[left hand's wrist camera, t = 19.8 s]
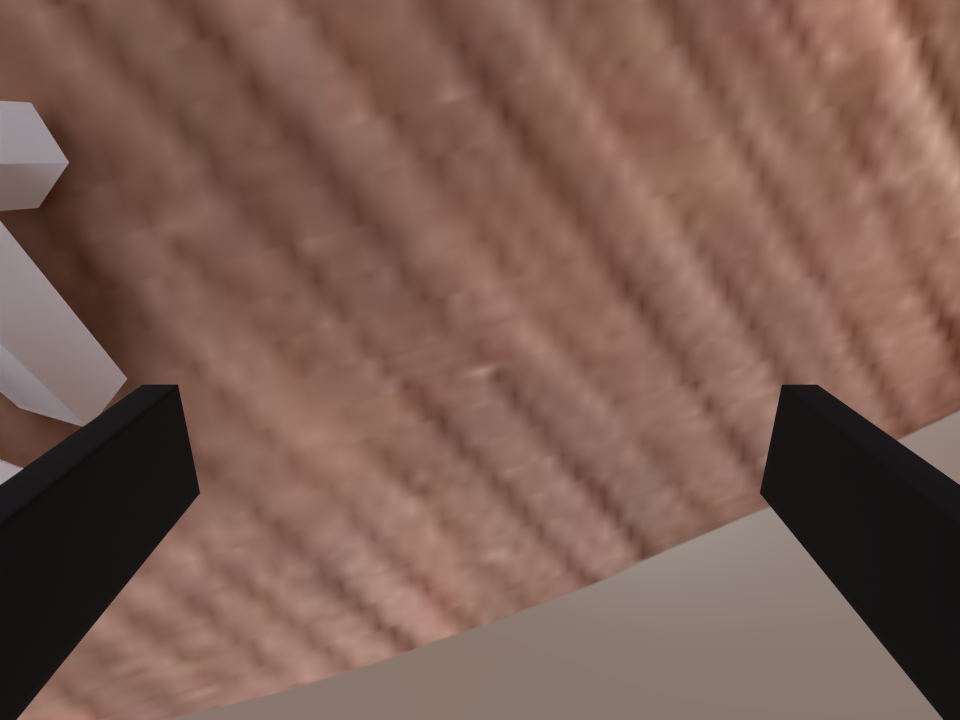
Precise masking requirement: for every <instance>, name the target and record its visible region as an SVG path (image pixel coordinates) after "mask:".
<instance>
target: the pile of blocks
mask: <svg viewBox="0 0 960 720" xmlns="http://www.w3.org/2000/svg"><path fill="white" fill-rule="evenodd" d="M68 163H69V162H68V160H67V159H66V157H65V155H64V154H63V152H62V151H61V149H60V147H59V146H58V144H57V143H56V141H55V140H54V138H53V136H52V135H51V133H50V132H49V130H48V129H47V127H46V125H45V124H44V122H43V121H42V119H41V118H40V116H39V114H38V113H37V111H36V110H35V108H34V107H33V105H32V103H28V102H13V101H0V211H6V210H18V209H30V208H39V206H40V205H41V203H42V202H43V200H44V199H45V197H46V196H47V194H48V193H49V192H50V190H51V189H52V187H53V186H54V184H55V183H56V181H57V180H58V178H59V177H60V175H61V174H62V172H63V171H64V169H65V168H66V166H67V165H68ZM126 380H127V378H126V376H125V375H124V374H123V373H122V371H121V370H120V369H119V368H118V366H117V365H116V364H115V363H114V362H113V360H112V359H111V358H110V357H109V355H108V354H107V353H106V352H105V350H104V349H103V348H102V347H101V345H100V344H99V343H98V342H97V340H96V339H95V338H94V337H93V335H92V334H91V333H90V332H89V330H88V329H87V328H86V327H85V326H84V324H83V323H82V322H81V321H80V319H79V318H78V317H77V316H76V314H75V313H74V312H73V311H72V309H71V308H70V307H69V306H68V304H67V303H66V302H65V301H64V299H63V298H62V297H61V296H60V294H59V293H58V292H57V291H56V290H55V288H54V287H53V286H52V285H51V283H50V282H49V281H48V280H47V278H46V277H45V276H44V275H43V273H42V272H41V271H40V270H39V268H38V267H37V266H36V265H35V263H34V262H33V261H32V260H31V258H30V257H29V256H28V255H27V254H26V252H25V251H24V250H23V249H22V247H21V246H20V245H19V244H18V242H17V241H16V240H15V239H14V237H13V236H12V235H11V234H10V232H9V231H8V230H7V229H6V227H5V226H4V225H3V224H2V222H1V221H0V392H1V393H2V394H3V395H5V396H6V397H7V398H8V399H9V400H10V401H12V402H13V403H14V404H15V405H16V406H18V407H19V408H21V409H24V410H28V411H31V412H34V413H38V414H41V415H45V416H48V417H51V418H55V419H58V420H62V421H65V422H68V423H72V424H75V425H78V426H82V427H83V426H85V425H86V424H88V423H89V422H91V421H92V420H93V419H95V418H96V417H98V416H99V415H100V414H101V413H102V411H103V410H104V409H105V407H106V406H107V405H108V403H109V402H110V401H111V400H112V398H113V397H114V396H115V394H116V393H117V392H118V390H119V389H120V388H121V387H122V385H123V384H124V383H125V381H126ZM22 469H24V468H22V467H20V466H17V465H14V464H12V463H9V462H6V461H3V460H1V459H0V485H1V484H2V483H4V482H5V481H7V480H8V479H10V478H11V477H12V476H14V475H15V474H17V473H18V472H19V471H21V470H22Z"/></svg>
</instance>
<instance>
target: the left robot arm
mask: <svg viewBox="0 0 960 720" xmlns="http://www.w3.org/2000/svg"><path fill="white" fill-rule="evenodd" d="M199 494H200V491H199V486H198V481H197V476H196V471H195V466H194V461H193V456H192V451H191V446H190V442H189V437H188V432H187V427H186V422H185V417H184V412H183V407H182V402H181V397H180V392H179V388H178V385H142V386H140V387H139V388H137V389H136V390H135V391H133V392H132V393H130V394H129V395H127V396H126V397H125V398H123V399H122V400H120V401H119V402H118V403H116V404H115V405H113V406H112V407H110V408H109V409H108V410H106V411H105V412H103V413H102V414H100V415H99V416H98V417H96V418H95V419H93V420H92V421H91V422H89V423H88V424H86V425H85V426H83V427H82V428H81V429H79V430H78V431H76V432H75V433H73V434H72V435H71V436H69V437H68V438H66V439H65V440H64V441H62V442H61V443H59V444H58V445H56V446H55V447H54V448H52V449H51V450H49V451H48V452H46V453H45V454H44V455H42V456H41V457H39V458H38V459H37V460H35V461H34V462H32V463H31V464H29V465H28V466H27V467H25V468H24V469H22V470H21V471H19V472H18V473H17V474H15V475H14V476H12V477H11V478H10V479H8V480H7V481H5V482H4V483H2V484H1V485H0V720H17V718H18V717H19V716H20V715H21V714H22V712H23V711H24V710H25V709H26V707H27V706H28V705H29V704H30V702H31V701H32V700H33V699H34V697H35V696H36V695H37V694H38V693H39V691H40V690H41V689H42V688H43V686H44V685H45V684H46V683H47V681H48V680H49V679H50V678H51V676H52V675H53V674H54V673H55V672H56V670H57V669H58V668H59V667H60V665H61V664H62V663H63V662H64V660H65V659H66V658H67V657H68V655H69V654H70V653H71V652H72V651H73V649H74V648H75V647H76V646H77V644H78V643H79V642H80V641H81V639H82V638H83V637H84V636H85V634H86V633H87V632H88V631H89V630H90V628H91V627H92V626H93V625H94V623H95V622H96V621H97V620H98V618H99V617H100V616H101V615H102V613H103V612H104V611H105V610H106V609H107V607H108V606H109V605H110V604H111V602H112V601H113V600H114V599H115V597H116V596H117V595H118V594H119V592H120V591H121V590H122V589H123V588H124V586H125V585H126V584H127V583H128V581H129V580H130V579H131V578H132V576H133V575H134V574H135V573H136V571H137V570H138V569H139V568H140V567H141V565H142V564H143V563H144V562H145V560H146V559H147V558H148V557H149V555H150V554H151V553H152V552H153V551H154V549H155V548H156V547H157V546H158V544H159V543H160V542H161V541H162V539H163V538H164V537H165V536H166V534H167V533H168V532H169V531H170V530H171V528H172V527H173V526H174V525H175V523H176V522H177V521H178V520H179V518H180V517H181V516H182V515H183V513H184V512H185V511H186V510H187V509H188V507H189V506H190V505H191V504H192V502H193V501H194V500H195V499H196V497H197V496H198V495H199ZM760 494H761V495H762V496H763V497H764V499H765V500H766V501H767V502H768V504H769V505H770V506H771V507H772V509H773V510H774V511H775V512H776V513H777V515H778V516H779V517H780V518H781V520H782V521H783V522H784V523H785V525H786V526H787V527H788V528H789V530H790V531H791V532H792V533H793V534H794V536H795V537H796V538H797V539H798V541H799V542H800V543H801V544H802V546H803V547H804V548H805V549H806V550H807V552H808V553H809V554H810V555H811V557H812V558H813V559H814V560H815V562H816V563H817V564H818V565H819V566H820V568H821V569H822V570H823V571H824V573H825V574H826V575H827V576H828V578H829V579H830V580H831V581H832V583H833V584H834V585H835V586H836V588H837V589H838V590H839V591H840V592H841V594H842V595H843V596H844V597H845V599H846V600H847V601H848V602H849V604H850V605H851V606H852V607H853V609H854V610H855V611H856V612H857V613H858V615H859V616H860V617H861V618H862V620H863V621H864V622H865V623H866V625H867V626H868V627H869V628H870V630H871V631H872V632H873V633H874V634H875V636H876V637H877V638H878V639H879V641H880V642H881V643H882V644H883V646H884V647H885V648H886V649H887V650H888V652H889V653H890V654H891V655H892V657H893V658H894V659H895V660H896V662H897V663H898V664H899V665H900V667H901V668H902V669H903V670H904V671H905V673H906V674H907V675H908V676H909V678H910V679H911V680H912V681H913V683H914V684H915V685H916V686H917V688H918V689H919V690H920V691H921V692H922V694H923V695H924V696H925V697H926V699H927V700H928V701H929V702H930V704H931V705H932V706H933V707H934V709H935V710H936V711H937V712H938V714H939V715H940V716H941V717H942V718H943V720H960V485H959V484H958V483H956V482H955V481H953V480H952V479H950V478H949V477H948V476H946V475H945V474H943V473H942V472H940V471H939V470H938V469H936V468H935V467H933V466H932V465H930V464H929V463H928V462H926V461H925V460H923V459H922V458H921V457H919V456H918V455H916V454H915V453H913V452H912V451H911V450H909V449H908V448H906V447H905V446H904V445H902V444H901V443H899V442H898V441H896V440H895V439H894V438H892V437H891V436H889V435H888V434H887V433H885V432H884V431H882V430H881V429H879V428H878V427H877V426H875V425H874V424H872V423H871V422H869V421H868V420H867V419H865V418H864V417H862V416H861V415H860V414H858V413H857V412H855V411H854V410H852V409H851V408H850V407H848V406H847V405H845V404H844V403H842V402H841V401H840V400H838V399H837V398H835V397H834V396H833V395H831V394H830V393H828V392H827V391H825V390H824V389H823V388H821V387H820V386H818V385H782V388H781V392H780V397H779V402H778V407H777V412H776V417H775V422H774V427H773V432H772V437H771V442H770V446H769V451H768V456H767V461H766V466H765V471H764V476H763V481H762V486H761V491H760Z"/></svg>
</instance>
